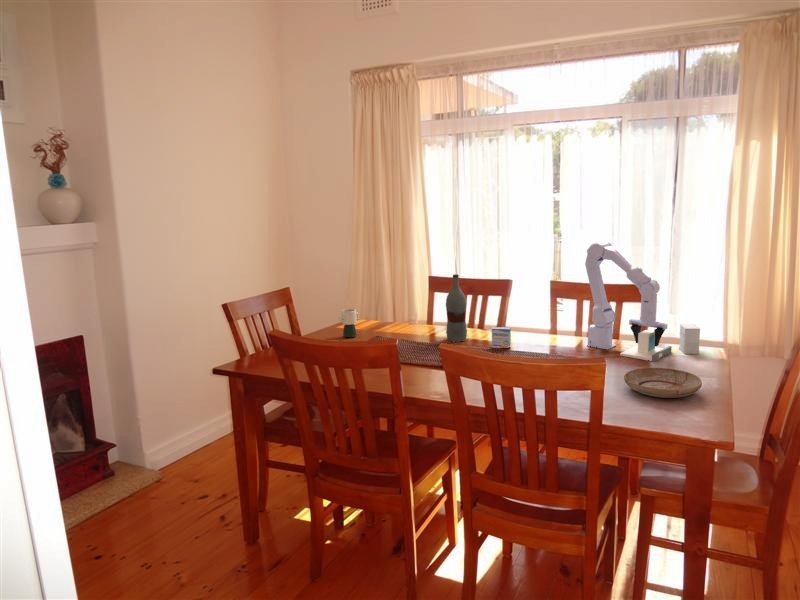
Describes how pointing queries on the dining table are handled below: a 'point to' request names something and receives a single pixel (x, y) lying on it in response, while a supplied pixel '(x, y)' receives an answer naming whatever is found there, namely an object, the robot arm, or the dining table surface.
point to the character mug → (349, 321)
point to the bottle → (456, 313)
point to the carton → (646, 341)
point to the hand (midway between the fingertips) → (647, 344)
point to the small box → (689, 338)
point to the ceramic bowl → (663, 382)
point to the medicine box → (501, 336)
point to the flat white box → (651, 356)
